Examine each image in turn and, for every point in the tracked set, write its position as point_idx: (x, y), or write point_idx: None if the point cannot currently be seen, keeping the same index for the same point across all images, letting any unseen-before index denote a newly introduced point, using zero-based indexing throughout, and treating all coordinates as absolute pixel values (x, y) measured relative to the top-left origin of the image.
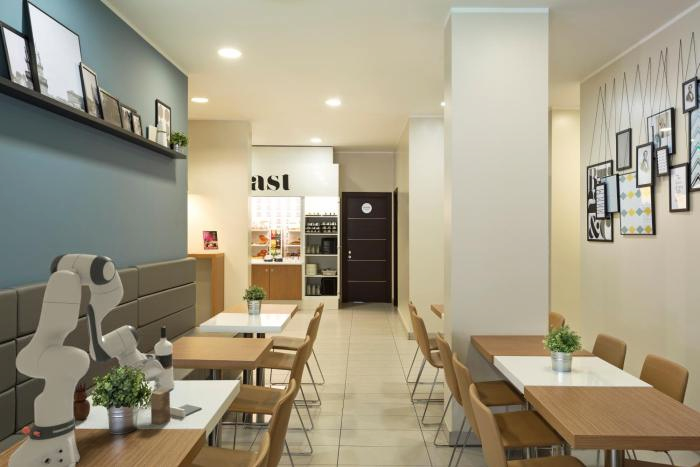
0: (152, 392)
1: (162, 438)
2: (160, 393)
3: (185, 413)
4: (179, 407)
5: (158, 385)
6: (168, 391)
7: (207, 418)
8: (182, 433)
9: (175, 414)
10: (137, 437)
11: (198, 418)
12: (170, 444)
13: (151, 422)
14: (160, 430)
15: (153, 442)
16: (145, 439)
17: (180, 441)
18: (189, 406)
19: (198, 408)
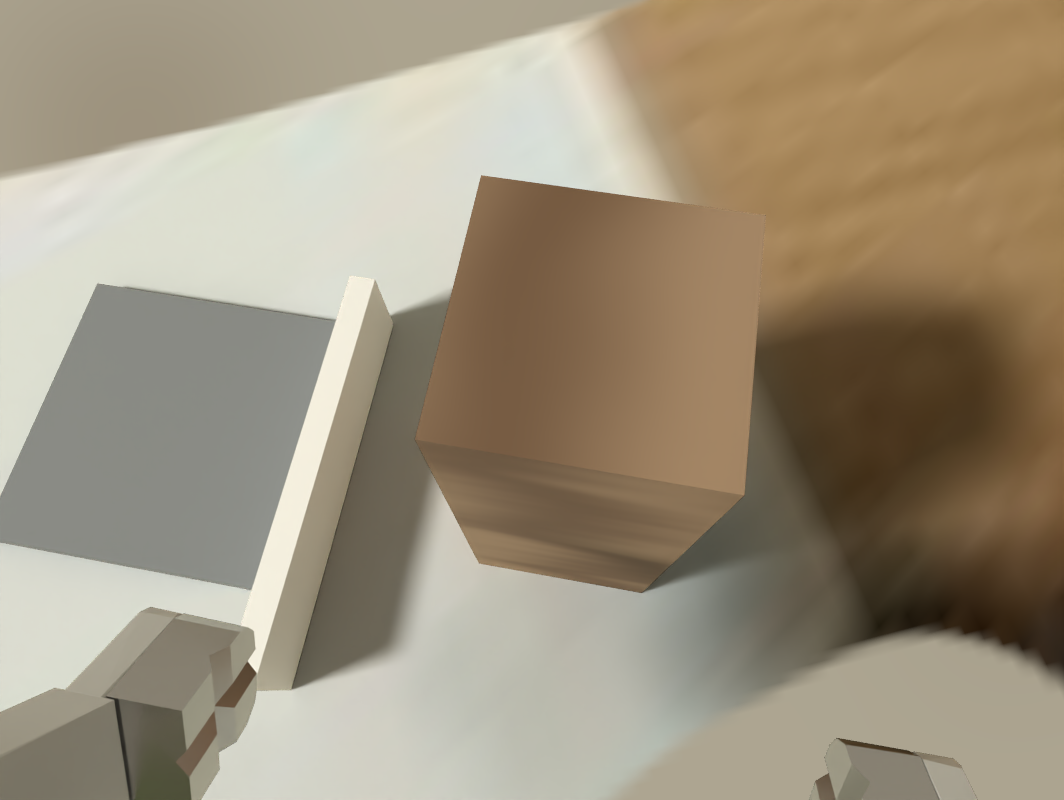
0: (719, 456)
1: (921, 189)
2: (703, 233)
3: (306, 346)
4: (110, 555)
5: (230, 648)
6: (512, 183)
7: (357, 102)
8: (748, 102)
9: (355, 445)
10: (1042, 433)
11: (377, 175)
12: (976, 60)
13: (641, 592)
14: (783, 328)
15: (1030, 206)
16: (1027, 319)
17: (888, 27)
18: (63, 448)
19: (126, 302)
